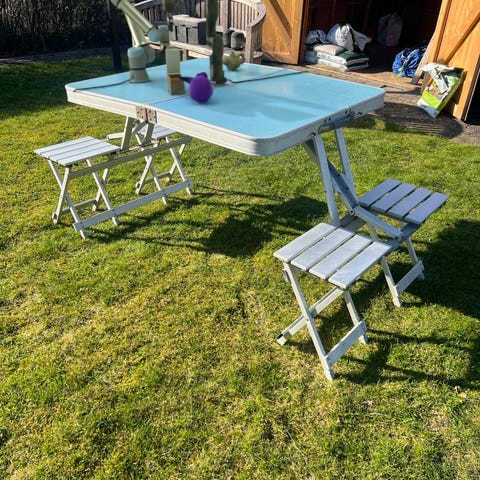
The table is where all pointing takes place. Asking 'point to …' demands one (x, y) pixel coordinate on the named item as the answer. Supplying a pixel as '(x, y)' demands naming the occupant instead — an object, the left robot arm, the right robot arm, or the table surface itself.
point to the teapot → (233, 61)
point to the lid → (172, 60)
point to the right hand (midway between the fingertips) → (170, 31)
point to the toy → (199, 87)
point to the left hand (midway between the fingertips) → (170, 54)
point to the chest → (175, 84)
